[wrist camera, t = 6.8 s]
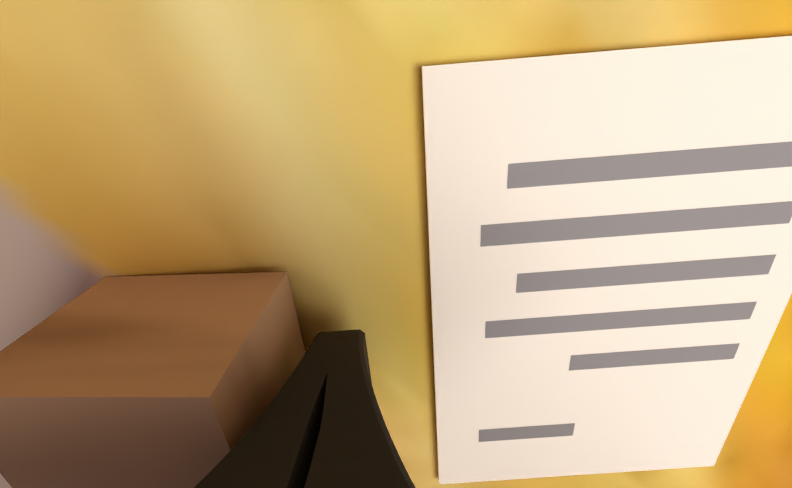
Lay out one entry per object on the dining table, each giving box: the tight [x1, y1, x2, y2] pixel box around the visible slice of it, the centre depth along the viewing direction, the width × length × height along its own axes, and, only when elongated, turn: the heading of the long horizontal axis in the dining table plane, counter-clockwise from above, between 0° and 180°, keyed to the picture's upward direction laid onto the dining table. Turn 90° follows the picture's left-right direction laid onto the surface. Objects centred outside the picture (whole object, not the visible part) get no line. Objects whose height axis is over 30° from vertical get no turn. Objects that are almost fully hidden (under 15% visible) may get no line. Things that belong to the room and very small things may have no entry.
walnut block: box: [0, 272, 305, 488], centre depth 9 cm, size 5×5×4 cm
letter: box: [421, 35, 792, 484], centre depth 11 cm, size 14×10×1 cm
